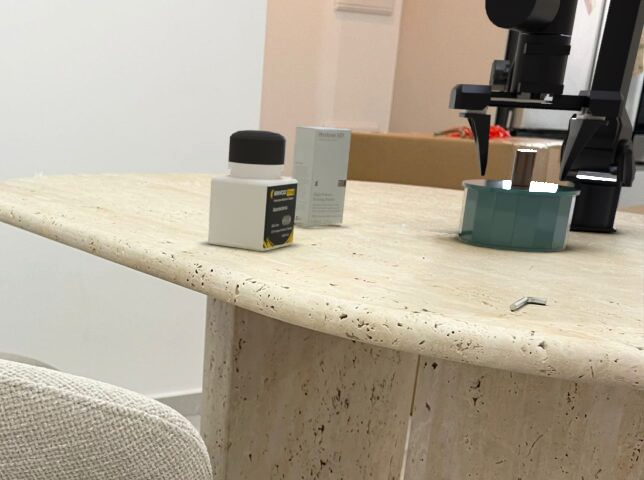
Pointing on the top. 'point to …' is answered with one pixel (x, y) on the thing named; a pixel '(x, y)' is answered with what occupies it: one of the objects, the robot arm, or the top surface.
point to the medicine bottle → (253, 195)
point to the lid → (522, 180)
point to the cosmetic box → (320, 175)
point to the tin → (515, 221)
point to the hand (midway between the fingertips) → (521, 177)
